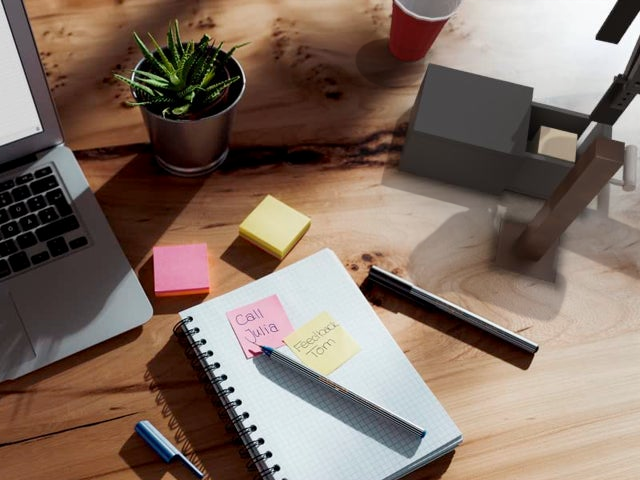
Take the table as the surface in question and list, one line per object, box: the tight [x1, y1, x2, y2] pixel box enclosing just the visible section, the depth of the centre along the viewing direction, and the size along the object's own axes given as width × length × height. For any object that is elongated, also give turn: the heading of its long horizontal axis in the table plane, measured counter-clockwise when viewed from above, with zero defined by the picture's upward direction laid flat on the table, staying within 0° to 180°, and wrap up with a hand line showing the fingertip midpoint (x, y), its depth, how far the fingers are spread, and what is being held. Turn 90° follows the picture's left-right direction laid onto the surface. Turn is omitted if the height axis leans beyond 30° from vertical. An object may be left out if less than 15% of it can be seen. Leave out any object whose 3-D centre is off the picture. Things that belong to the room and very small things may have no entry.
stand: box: [494, 136, 626, 284], centre depth 80 cm, size 8×8×22 cm
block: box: [526, 126, 578, 164], centre depth 92 cm, size 5×5×5 cm
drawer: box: [504, 100, 638, 201], centre depth 91 cm, size 18×11×8 cm, turn 73°
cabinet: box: [397, 62, 535, 197], centre depth 93 cm, size 15×13×10 cm
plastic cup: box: [388, 0, 465, 63], centre depth 100 cm, size 11×11×12 cm
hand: (603, 79), depth 79 cm, fingers open, 13 cm apart
